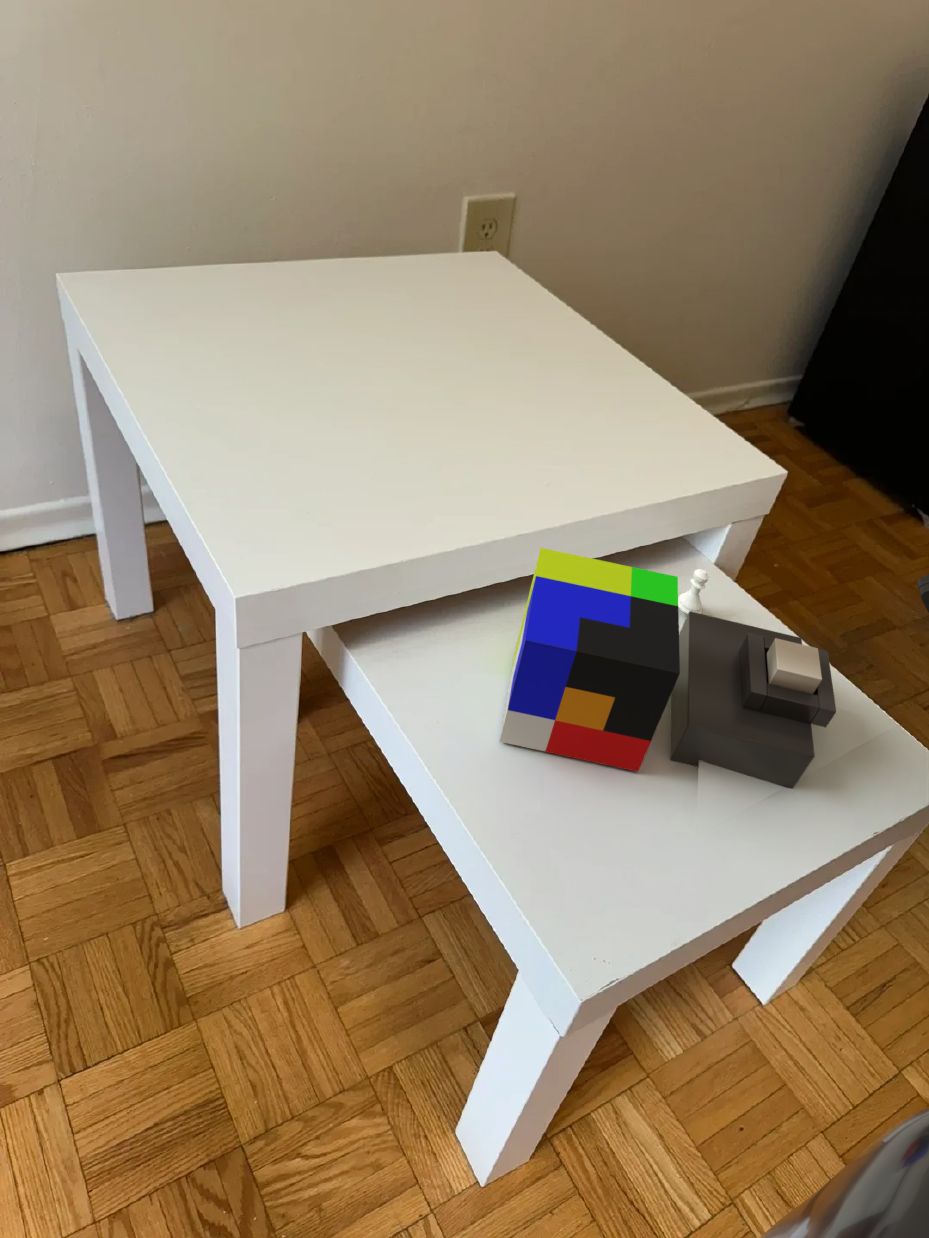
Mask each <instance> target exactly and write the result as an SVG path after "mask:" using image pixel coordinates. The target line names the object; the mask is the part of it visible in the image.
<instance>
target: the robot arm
mask: <svg viewBox="0 0 929 1238" xmlns="http://www.w3.org/2000/svg"><path fill="white" fill-rule="evenodd" d="M916 584H917V588H918V592H919V596H920V599H921V602H922V604H923V605H924V607H925V610H926V611H927V613H929V573H927V574H926V575H924V576H922V577H920V578H918V579H917V582H916ZM759 1238H929V1107H926V1108H923V1109H920V1110H918V1111H915V1112H914V1113H912V1114H911V1115H908V1116H907V1117H904V1119H901V1120H899V1121H898V1122H896V1123H894V1124H893V1125H892V1126H890V1127H889V1128H887V1130H885V1131H883V1133H882V1134H880V1135H878V1136H877V1137H876V1138H875V1139H874V1140H873V1141H871V1142H869V1143H868V1145H866V1146H865V1147H864V1148H863V1149H862V1150H861V1151H860V1152H859V1153H858V1154H857V1155H856V1156H855V1157H853V1159H851V1160H850V1161H849V1162H848V1163H847V1164H846V1165H845V1166H844V1167H843V1168H842V1169H840V1170H839V1171H838V1172H837V1173H836V1174H835V1175H834V1176H833V1177H832V1178H831V1179H830V1180H828V1181H827V1182H826V1183H825V1184H824V1185H823V1186H821V1187H820V1188H819V1189H817V1191H815V1192H814V1193H813V1194H812V1195H811V1196H809V1197H808V1198H806V1199H805V1200H804V1201H803V1202H802V1203H800V1204H799V1205H797V1206H796V1207H794V1208H793V1209H792V1210H791V1211H789V1212H788V1213H787V1214H785V1215H784V1216H783V1217H782V1218H780V1219H779V1220H778V1221H777V1222H775V1223H774V1224H773V1225H772V1226H771V1227H770V1228H768V1230H766V1231H765V1232H764V1233H763V1234H762V1235H761V1236H760V1237H759Z"/></svg>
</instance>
